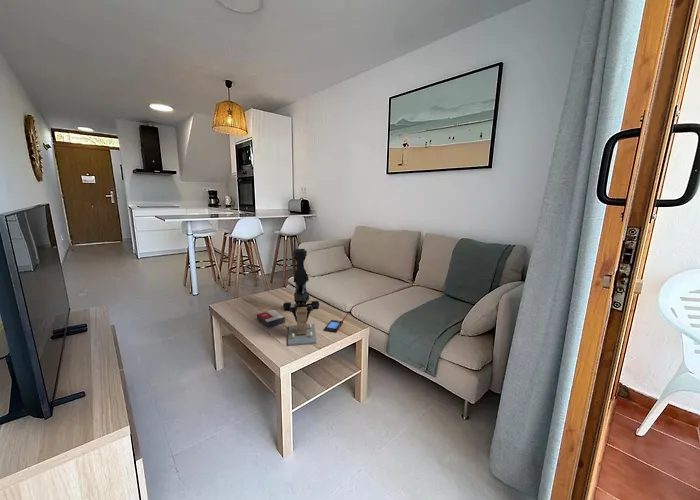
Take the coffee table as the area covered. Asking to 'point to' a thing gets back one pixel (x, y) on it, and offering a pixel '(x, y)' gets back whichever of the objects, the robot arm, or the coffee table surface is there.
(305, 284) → the robot arm
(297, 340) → the plate
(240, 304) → the coffee table surface
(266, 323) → the grey and red box
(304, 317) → the walnut block
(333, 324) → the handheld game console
